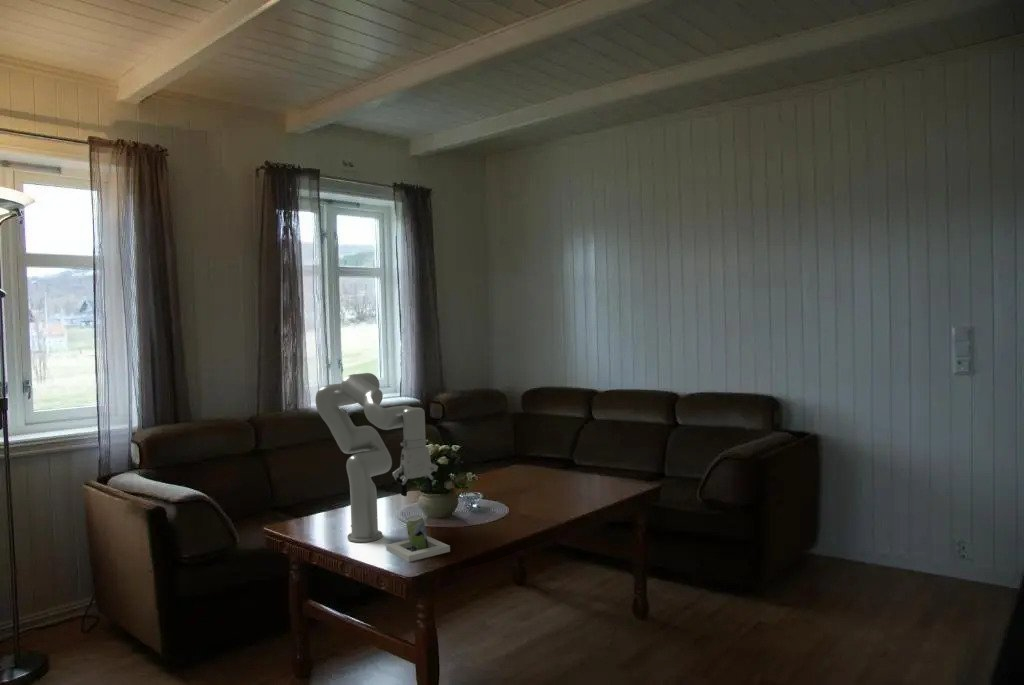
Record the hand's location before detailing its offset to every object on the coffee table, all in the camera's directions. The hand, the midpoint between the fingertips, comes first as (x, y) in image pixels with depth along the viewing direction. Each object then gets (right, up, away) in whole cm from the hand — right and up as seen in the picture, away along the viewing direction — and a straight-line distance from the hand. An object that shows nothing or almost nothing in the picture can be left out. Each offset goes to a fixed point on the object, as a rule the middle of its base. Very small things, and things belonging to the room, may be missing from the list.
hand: (416, 493), depth 252 cm
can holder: (0, -20, +1) cm, 20 cm away
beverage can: (0, -20, +1) cm, 20 cm away
